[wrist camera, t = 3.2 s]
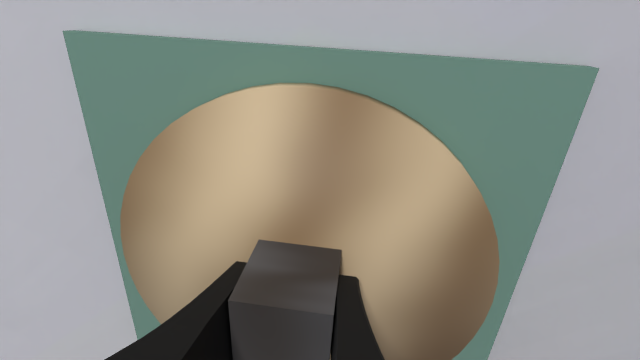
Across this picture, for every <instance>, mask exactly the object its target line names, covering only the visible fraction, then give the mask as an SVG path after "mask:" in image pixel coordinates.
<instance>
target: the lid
mask: <svg viewBox="0 0 640 360" xmlns="http://www.w3.org/2000/svg"><path fill="white" fill-rule="evenodd" d="M120 225H121V241H122V247H123V253H124V257H125V260H126V263H127V267H128V270H129V273H130V275H131V277H132V280H133V282H134V284H135V286H136V288H137V291H138V292H139V294H140V295H141V297H142V299H143V300H144V302H145V304H146V305H147V307H148V308H149V310H150V311H151V312H152V313H153V315H154V316H155V317H156V319H157V320H158V321H159V322H160V324H162V323H164V322H165V321H167V320H168V319H169V318H171V317H172V316H173V315H174V314H176V313H177V312H178V311H180V310H181V309H182V308H183V307H185V306H186V305H187V304H189V303H190V302H191V301H192V300H193V299H195V298H196V297H197V296H198V295H199V294H200V293H202V292H203V291H204V290H205V289H206V288H207V287H208V286H210V285H211V284H212V283H213V282H214V281H215V280H216V279H217V278H218V277H220V276H221V275H222V274H223V273H224V272H225V271H226V270H227V269H228V268H229V267H230V266H231V265H233V264H234V263H235V262H236V261H240V262H247V264H246V266H245V268H244V270H243V272H242V274H241V276H240V278H239V280H238V282H237V284H236V286H235V288H234V290H233V292H232V294H231V296H230V298H229V300H228V306H229V318H230V331H231V344H232V356H233V360H331V344H332V334H333V324H334V314H335V304H336V293H337V285H338V278H339V275H347V276H354V277H357V278H358V279H359V286H360V291H361V296H362V300H363V304H364V307H365V311H366V314H367V317H368V320H369V322H370V325H371V328H372V331H373V333H374V336H375V339H376V341H377V343H378V346H379V348H380V350H381V353H382V355H383V357H384V359H385V360H452V359H453V358H454V357H455V356H457V355H458V354H459V353H460V352H461V351H462V350H463V349H464V348H465V347H466V345H467V344H468V343H469V342H470V341H471V340H472V339H473V338H474V336H475V335H476V333H477V332H478V330H479V329H480V327H481V326H482V324H483V323H484V321H485V318H486V316H487V314H488V312H489V310H490V307H491V305H492V303H493V299H494V295H495V291H496V288H497V284H498V274H499V251H498V240H497V236H496V232H495V228H494V224H493V221H492V217H491V214H490V212H489V210H488V208H487V206H486V203H485V201H484V199H483V197H482V195H481V193H480V191H479V189H478V188H477V186H476V185H475V183H474V181H473V180H472V178H471V177H470V175H469V174H468V172H467V171H466V169H465V168H464V166H463V165H462V163H461V162H460V160H459V159H458V158H457V157H456V156H455V155H454V154H453V153H452V152H451V150H450V149H449V148H448V147H447V146H446V145H445V144H444V143H443V142H442V141H441V140H440V139H439V138H438V137H437V136H435V135H434V134H433V133H432V132H430V131H429V130H428V129H427V128H426V127H424V126H423V125H422V124H421V123H419V122H418V121H416V120H415V119H413V118H411V117H410V116H408V115H406V114H405V113H403V112H401V111H400V110H398V109H397V108H395V107H393V106H390V105H388V104H386V103H384V102H381V101H379V100H377V99H374V98H372V97H370V96H368V95H364V94H361V93H357V92H354V91H350V90H347V89H343V88H340V87H334V86H327V85H320V84H313V83H274V84H266V85H258V86H252V87H248V88H244V89H241V90H237V91H234V92H230V93H227V94H224V95H222V96H220V97H218V98H215V99H213V100H211V101H209V102H206V103H204V104H202V105H200V106H198V107H196V108H194V109H193V110H191V111H189V112H188V113H186V114H185V115H183V116H182V117H180V118H179V119H177V120H176V121H174V122H172V123H171V124H170V125H169V126H168V127H167V128H166V129H165V130H163V131H162V132H161V133H160V134H159V135H158V136H157V137H156V138H155V139H154V140H153V141H152V142H151V143H150V145H149V146H148V147H147V149H146V150H145V151H144V152H143V154H142V155H141V156H140V158H139V160H138V162H137V164H136V165H135V167H134V169H133V171H132V173H131V175H130V177H129V180H128V183H127V186H126V189H125V192H124V195H123V202H122V208H121V215H120Z"/></svg>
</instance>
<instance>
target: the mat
mask: <svg viewBox="0 0 640 360" xmlns="http://www.w3.org/2000/svg"><path fill="white" fill-rule="evenodd" d="M63 34H64V38H65V43H66V47H67V51H68V55H69V59H70V63H71V67H72V71H73V75H74V80H75V84H76V88H77V92H78V96H79V100H80V104H81V108H82V112H83V117H84V121H85V125H86V129H87V133H88V137H89V141H90V145H91V149H92V154H93V158H94V162H95V166H96V170H97V174H98V178H99V182H100V186H101V191H102V195H103V199H104V203H105V207H106V211H107V215H108V219H109V223H110V228H111V232H112V236H113V240H114V244H115V248H116V252H117V256H118V260H119V265H120V269H121V273H122V277H123V281H124V285H125V289H126V293H127V297H128V302H129V306H130V310H131V314H132V318H133V322H134V326H135V330H136V334H137V339H138V340H139V339H140V338H142V337H144V336H145V335H147V334H148V333H149V332H151V331H152V330H154V329H155V328H157V327H158V326H160V325H161V324H160V322H159V321H158V320H157V319H156V317H155V316H154V315H153V313H152V312H151V311H150V310H149V308H148V307H147V305H146V304H145V302H144V300H143V299H142V297H141V295H140V294H139V292H138V291H137V288H136V286H135V284H134V282H133V280H132V277H131V275H130V273H129V270H128V267H127V263H126V260H125V257H124V253H123V247H122V241H121V225H120V215H121V208H122V202H123V195H124V192H125V189H126V186H127V183H128V180H129V177H130V175H131V173H132V171H133V169H134V167H135V165H136V164H137V162H138V160H139V158H140V156H141V155H142V154H143V152H144V151H145V150H146V149H147V147H148V146H149V145H150V143H151V142H152V141H153V140H154V139H155V138H156V137H157V136H158V135H159V134H160V133H161V132H162V131H163V130H165V129H166V128H167V127H168V126H169V125H170V124H171V123H172V122H174V121H176V120H177V119H179V118H180V117H182V116H183V115H185V114H186V113H188V112H189V111H191V110H193V109H194V108H196V107H198V106H200V105H202V104H204V103H206V102H209V101H211V100H213V99H215V98H218V97H220V96H222V95H224V94H227V93H230V92H234V91H237V90H241V89H244V88H248V87H252V86H258V85H266V84H274V83H313V84H320V85H327V86H334V87H340V88H343V89H347V90H350V91H354V92H357V93H361V94H364V95H368V96H370V97H372V98H374V99H377V100H379V101H381V102H384V103H386V104H388V105H390V106H393V107H395V108H397V109H398V110H400V111H401V112H403V113H405V114H406V115H408V116H410V117H411V118H413V119H415V120H416V121H418V122H419V123H421V124H422V125H423V126H424V127H426V128H427V129H428V130H429V131H430V132H432V133H433V134H434V135H435V136H437V137H438V138H439V139H440V140H441V141H442V142H443V143H444V144H445V145H446V146H447V147H448V148H449V149H450V150H451V152H452V153H453V154H454V155H455V156H456V157H457V158H458V159H459V160H460V162H461V163H462V165H463V166H464V168H465V169H466V171H467V172H468V174H469V175H470V177H471V178H472V180H473V181H474V183H475V185H476V186H477V188H478V189H479V191H480V193H481V195H482V197H483V199H484V201H485V203H486V206H487V208H488V210H489V212H490V214H491V217H492V221H493V224H494V228H495V232H496V236H497V240H498V251H499V274H498V284H497V288H496V291H495V295H494V299H493V303H492V305H491V307H490V310H489V312H488V314H487V316H486V318H485V321H484V323H483V324H482V326H481V327H480V329H479V330H478V332H477V333H476V335H475V336H474V338H473V339H472V340H471V341H470V342H469V343H468V344H467V345H466V347H465V348H464V349H463V350H462V351H461V352H460V353H459V354H458V355H457V356H455V357H454V358H453V359H452V360H487V359H488V356H489V354H490V351H491V349H492V346H493V343H494V341H495V338H496V336H497V333H498V330H499V328H500V325H501V323H502V320H503V317H504V315H505V312H506V310H507V307H508V304H509V302H510V299H511V297H512V294H513V291H514V289H515V286H516V284H517V281H518V278H519V276H520V273H521V271H522V268H523V265H524V263H525V260H526V258H527V255H528V252H529V250H530V247H531V245H532V242H533V239H534V237H535V234H536V232H537V229H538V226H539V224H540V221H541V219H542V216H543V213H544V211H545V208H546V206H547V203H548V200H549V198H550V195H551V193H552V190H553V187H554V185H555V182H556V180H557V177H558V174H559V172H560V169H561V167H562V164H563V161H564V159H565V156H566V154H567V151H568V148H569V146H570V143H571V141H572V138H573V135H574V133H575V130H576V128H577V125H578V122H579V120H580V117H581V115H582V112H583V109H584V107H585V104H586V102H587V99H588V96H589V94H590V91H591V89H592V86H593V83H594V81H595V78H596V76H597V73H598V70H599V68H595V67H591V66H580V65H566V64H551V63H537V62H522V61H508V60H494V59H479V58H465V57H450V56H436V55H422V54H407V53H393V52H378V51H364V50H349V49H335V48H321V47H306V46H292V45H277V44H263V43H249V42H234V41H220V40H205V39H191V38H177V37H162V36H148V35H133V34H119V33H104V32H90V31H76V30H73V31H63Z"/></svg>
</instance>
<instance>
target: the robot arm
mask: <svg viewBox="0 0 640 360" xmlns="http://www.w3.org/2000/svg"><path fill="white" fill-rule="evenodd" d="M246 264H247V262H240V261H236V262H235V263H234V264H233V265H231V266H230V267H229V268H228V269H227V270H226V271H225V272H224V273H223V274H222V275H221V276H220V277H218V278H217V279H216V280H215V281H214V282H213V283H212V284H211V285H210V286H208V287H207V288H206V289H205V290H204V291H203V292H202V293H200V294H199V295H198V296H197V297H196V298H195V299H193V300H192V301H191V302H190V303H189V304H187V305H186V306H185V307H183V308H182V309H181V310H180V311H178V312H177V313H176V314H174V315H173V316H172V317H171V318H169V319H168V320H167V321H165V322H164V323H162V324H161V325H160V326H158V327H157V328H155V329H154V330H152V331H151V332H149V333H148V334H147V335H145V336H144V337H142V338H140V339H139V340H137V341H136V342H134V343H132V344H131V345H129V346H127V347H125V348H124V349H122V350H120V351H119V352H117V353H115V354H114V355H112V356H110V357H108V358H107V359H105V360H233V356H232V344H231V331H230V318H229V306H228V300H229V298H230V296H231V294H232V292H233V290H234V288H235V286H236V284H237V282H238V280H239V278H240V276H241V274H242V272H243V270H244V268H245V266H246ZM331 360H385V359H384V357H383V355H382V353H381V350H380V348H379V346H378V343H377V341H376V339H375V336H374V333H373V331H372V328H371V325H370V322H369V320H368V317H367V314H366V311H365V307H364V304H363V300H362V296H361V291H360V286H359V279H358V278H357V277H354V276H347V275H339V278H338V285H337V293H336V304H335V314H334V324H333V334H332V344H331Z"/></svg>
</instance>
